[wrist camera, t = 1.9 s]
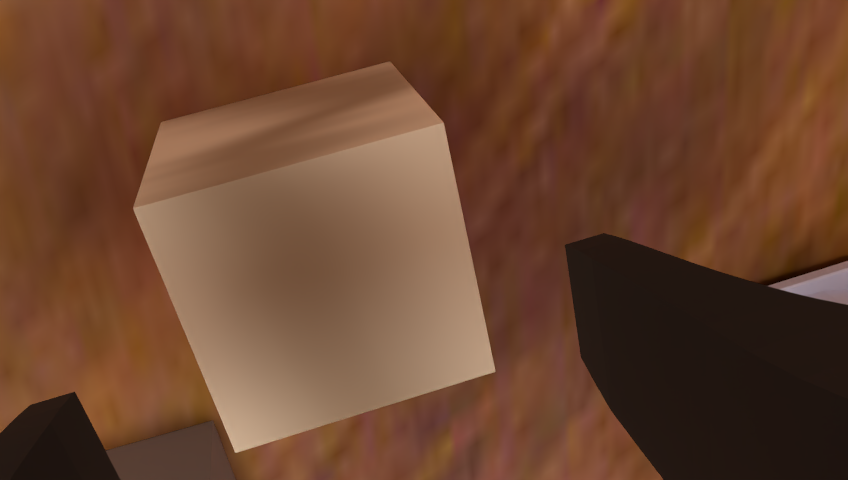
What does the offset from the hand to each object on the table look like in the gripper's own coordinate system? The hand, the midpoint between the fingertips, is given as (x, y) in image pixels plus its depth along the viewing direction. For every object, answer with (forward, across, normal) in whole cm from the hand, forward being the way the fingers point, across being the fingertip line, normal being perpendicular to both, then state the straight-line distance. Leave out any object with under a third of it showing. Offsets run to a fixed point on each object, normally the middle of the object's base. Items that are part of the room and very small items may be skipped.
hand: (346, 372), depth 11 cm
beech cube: (+7, 0, 0) cm, 7 cm away
